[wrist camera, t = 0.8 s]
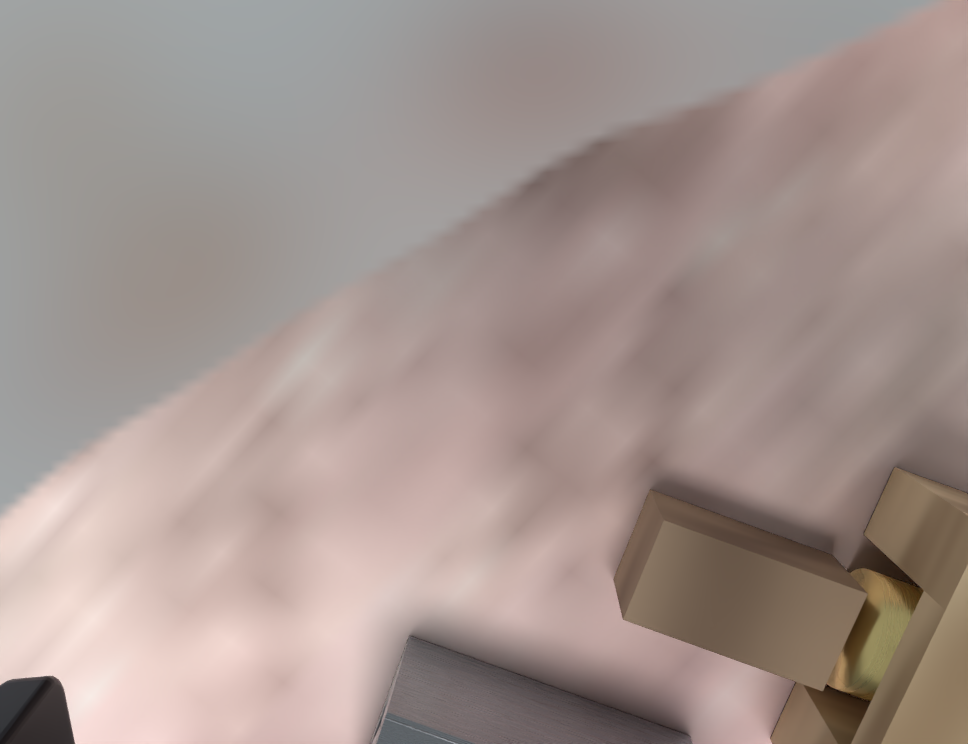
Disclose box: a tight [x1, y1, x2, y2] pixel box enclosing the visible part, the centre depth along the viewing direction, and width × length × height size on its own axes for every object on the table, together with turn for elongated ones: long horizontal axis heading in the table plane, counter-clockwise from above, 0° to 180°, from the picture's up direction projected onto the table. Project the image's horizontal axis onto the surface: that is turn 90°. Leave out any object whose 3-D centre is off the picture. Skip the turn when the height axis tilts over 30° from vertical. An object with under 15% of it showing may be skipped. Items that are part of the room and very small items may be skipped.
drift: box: [614, 490, 868, 691], centre depth 22 cm, size 5×3×3 cm, turn 71°
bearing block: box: [770, 467, 968, 744], centre depth 21 cm, size 3×8×4 cm, turn 160°
